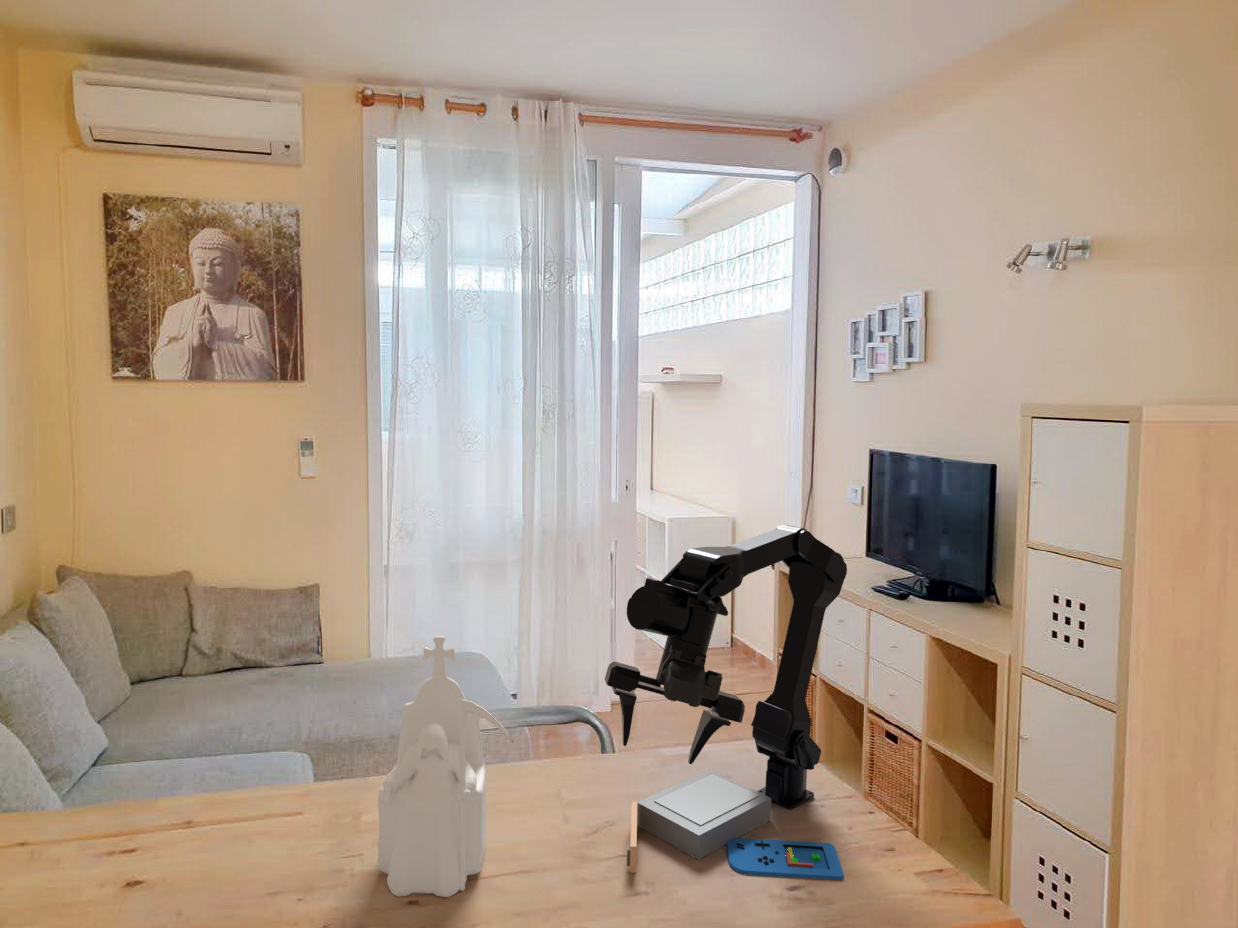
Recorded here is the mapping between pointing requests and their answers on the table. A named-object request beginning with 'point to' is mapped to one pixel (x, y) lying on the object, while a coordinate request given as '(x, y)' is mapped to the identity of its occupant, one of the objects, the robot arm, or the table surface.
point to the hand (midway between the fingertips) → (657, 754)
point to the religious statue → (435, 790)
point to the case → (703, 813)
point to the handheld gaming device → (784, 858)
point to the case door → (632, 840)
